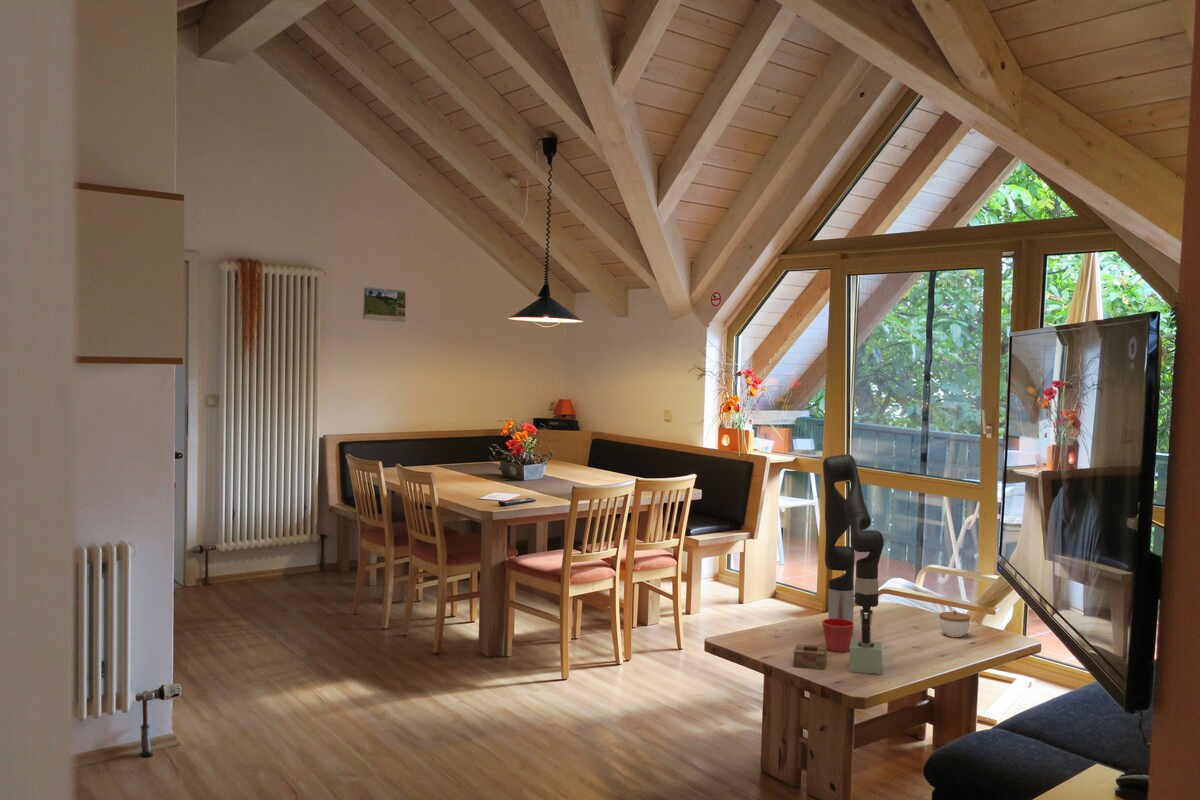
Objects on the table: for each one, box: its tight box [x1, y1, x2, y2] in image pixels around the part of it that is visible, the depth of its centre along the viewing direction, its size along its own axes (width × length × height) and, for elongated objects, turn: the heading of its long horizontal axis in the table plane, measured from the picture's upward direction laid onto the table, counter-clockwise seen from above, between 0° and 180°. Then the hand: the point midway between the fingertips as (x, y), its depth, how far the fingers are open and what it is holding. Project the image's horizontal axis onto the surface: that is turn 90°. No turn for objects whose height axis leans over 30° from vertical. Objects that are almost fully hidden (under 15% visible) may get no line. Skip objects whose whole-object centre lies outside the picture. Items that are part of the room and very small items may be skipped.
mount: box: [793, 643, 828, 670], centre depth 319 cm, size 10×10×5 cm
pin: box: [860, 625, 872, 647], centre depth 314 cm, size 3×3×14 cm
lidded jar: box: [939, 610, 971, 638], centre depth 356 cm, size 11×11×9 cm
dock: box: [849, 639, 883, 675], centre depth 314 cm, size 10×10×8 cm
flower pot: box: [822, 618, 854, 653], centre depth 337 cm, size 11×11×10 cm
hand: (866, 639), depth 314 cm, fingers open, 8 cm apart
